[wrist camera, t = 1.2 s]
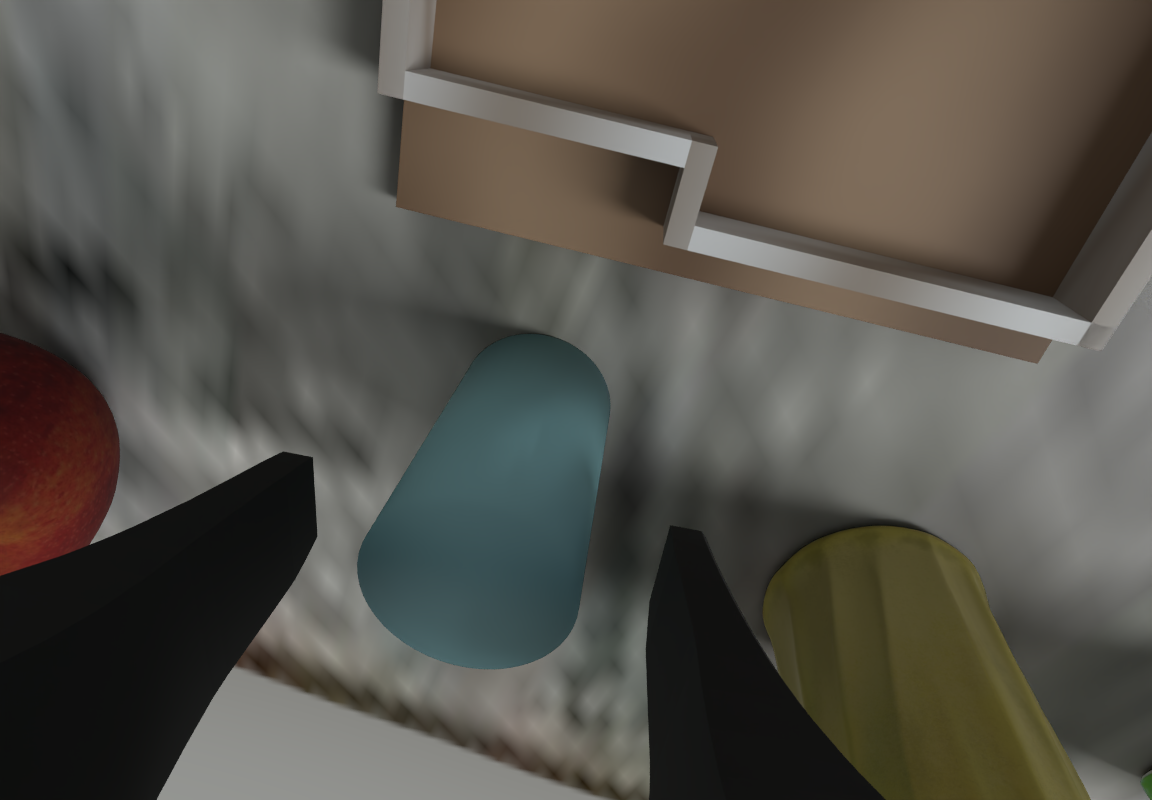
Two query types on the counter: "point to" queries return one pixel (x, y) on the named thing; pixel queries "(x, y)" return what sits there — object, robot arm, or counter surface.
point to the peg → (495, 511)
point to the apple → (51, 456)
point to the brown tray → (803, 149)
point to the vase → (911, 670)
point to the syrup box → (1147, 783)
